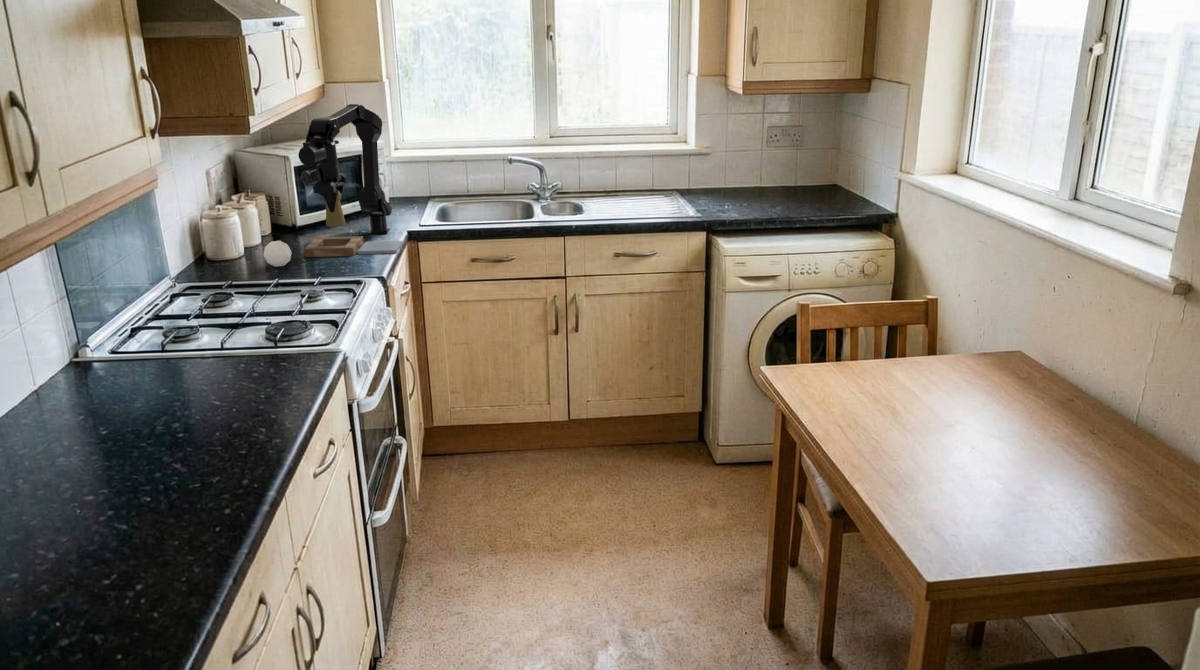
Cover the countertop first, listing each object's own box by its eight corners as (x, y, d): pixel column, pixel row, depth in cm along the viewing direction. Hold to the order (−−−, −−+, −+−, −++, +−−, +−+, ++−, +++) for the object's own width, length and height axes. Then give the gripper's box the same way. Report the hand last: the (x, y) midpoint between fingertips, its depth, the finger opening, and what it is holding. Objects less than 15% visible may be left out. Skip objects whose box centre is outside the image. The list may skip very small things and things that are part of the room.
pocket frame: (317, 244, 280) (316, 237, 279) (363, 243, 280) (363, 236, 279) (305, 256, 266) (303, 249, 265) (353, 255, 266) (352, 247, 265)
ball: (288, 273, 258) (300, 253, 256) (265, 270, 251) (278, 249, 249) (276, 257, 261) (289, 237, 259) (254, 254, 255) (266, 233, 252)
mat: (366, 244, 279) (365, 241, 278) (402, 243, 279) (402, 240, 279) (357, 254, 268) (357, 251, 267) (396, 253, 268) (396, 250, 268)
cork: (333, 227, 266) (329, 192, 262) (322, 225, 270) (317, 190, 266) (349, 223, 271) (345, 189, 267) (338, 221, 274) (333, 187, 270)
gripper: (309, 156, 271) (316, 204, 277) (292, 166, 254) (299, 217, 260) (345, 155, 272) (351, 203, 277) (330, 165, 254) (336, 216, 260)
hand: (334, 210), depth 268 cm, fingers closed on cork, 4 cm apart
